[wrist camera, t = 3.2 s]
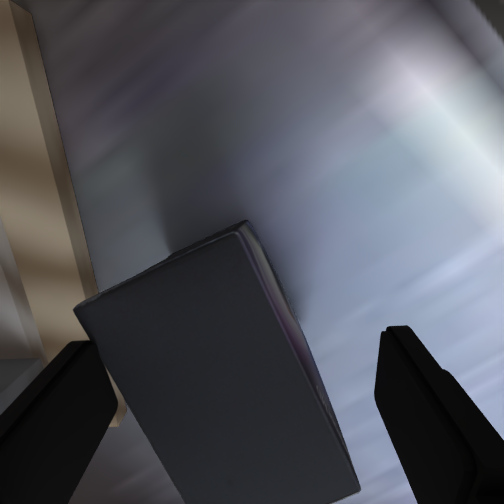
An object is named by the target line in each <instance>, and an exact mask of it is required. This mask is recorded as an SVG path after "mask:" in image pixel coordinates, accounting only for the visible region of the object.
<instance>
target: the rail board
mask: <svg viewBox="0 0 504 504" xmlns="http://www.w3.org/2000/svg"><path fill="white" fill-rule="evenodd" d="M97 294H99V293H98V289H97V285H96V280H95V276H94V272H93V268H92V264H91V260H90V256H89V251H88V247H87V243H86V239H85V235H84V231H83V227H82V222H81V218H80V214H79V210H78V206H77V202H76V198H75V193H74V189H73V185H72V181H71V177H70V173H69V168H68V164H67V160H66V156H65V152H64V148H63V144H62V139H61V135H60V131H59V127H58V123H57V119H56V115H55V110H54V106H53V102H52V98H51V94H50V90H49V86H48V81H47V77H46V73H45V69H44V65H43V61H42V56H41V52H40V48H39V44H38V40H37V36H36V32H35V27H34V23H33V19H32V15H31V14H30V13H29V12H27V11H26V10H24V9H23V8H21V7H20V6H18V5H17V4H15V3H14V2H12V1H11V0H0V415H1V414H2V413H3V412H4V411H5V410H6V409H7V407H8V406H9V405H10V404H11V403H12V402H13V401H14V400H15V399H16V398H17V397H18V396H19V395H20V394H21V393H22V392H23V390H24V389H25V388H26V387H27V386H28V385H29V384H30V383H31V382H32V381H33V380H34V379H35V378H36V377H37V376H38V375H39V373H40V372H41V371H42V370H43V369H44V368H45V367H46V366H47V365H48V364H49V363H50V362H51V361H52V360H53V359H54V358H55V357H56V355H57V354H58V353H59V352H60V351H61V350H62V349H63V348H64V347H65V346H66V345H67V344H68V343H69V342H71V341H79V340H90V339H89V338H88V336H87V334H86V332H85V331H84V329H83V328H82V326H81V324H80V323H79V321H78V319H77V317H76V316H75V314H74V312H73V308H74V307H75V306H76V305H77V304H79V303H81V302H82V301H84V300H86V299H88V298H90V297H93V296H95V295H97ZM105 368H106V367H105ZM106 370H107V369H106ZM107 373H108V376H109V378H110V381H111V384H112V386H113V389H114V391H115V394H116V397H117V399H118V408H117V411H116V414H115V415H114V417H113V419H112V421H111V423H110V425H109V427H119V425H120V423H121V421H122V419H123V417H124V416H125V414H126V412H127V409H126V405H125V401H124V398H123V396H122V394H121V393H120V391H119V389H118V388H117V386H116V384H115V382H114V380H113V379H112V377H111V375H110V374H109V372H108V370H107Z"/></svg>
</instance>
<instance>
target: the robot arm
mask: <svg viewBox="0 0 504 504" xmlns="http://www.w3.org/2000/svg"><path fill="white" fill-rule="evenodd" d="M374 397H375V402H376V405H377V408H378V410H379V412H380V415H381V417H382V419H383V422H384V424H385V427H386V429H387V431H388V434H389V436H390V438H391V441H392V443H393V446H394V448H395V450H396V453H397V455H398V457H399V460H400V462H401V465H402V467H403V469H404V472H405V474H406V476H407V479H408V481H409V484H410V486H411V488H412V491H413V493H414V496H415V498H416V500H417V503H418V504H504V440H503V439H502V438H501V436H500V435H499V434H498V432H497V431H496V430H495V429H494V427H493V426H492V425H491V424H490V422H489V421H488V420H487V419H486V417H485V416H484V415H483V413H482V412H481V411H480V410H479V408H478V407H477V406H476V405H475V403H474V402H473V401H472V400H471V398H470V397H469V396H468V394H467V393H466V392H465V391H464V389H463V388H462V387H461V386H460V384H459V383H458V382H457V381H456V379H455V378H454V377H453V376H452V375H451V374H450V373H449V372H448V371H446V370H445V369H442V368H441V367H440V366H439V364H438V363H437V362H436V360H435V359H434V358H433V357H432V355H431V354H430V353H429V351H428V350H427V349H426V347H425V346H424V345H423V344H422V342H421V341H420V340H419V338H418V337H417V336H416V334H415V333H414V332H413V330H412V329H411V328H410V327H409V326H407V325H406V326H389V327H387V329H386V331H382V332H381V337H380V345H379V354H378V363H377V372H376V381H375V390H374ZM117 408H118V399H117V397H116V394H115V391H114V389H113V386H112V384H111V381H110V378H109V376H108V373H107V370H106V368H105V365H104V363H103V362H102V360H101V358H100V355H99V351H98V347H97V345H95V344H92V342H91V341H90V340H79V341H71V342H69V343H68V344H67V345H66V346H65V347H64V348H63V349H62V350H61V351H60V352H59V353H58V354H57V355H56V357H55V358H54V359H53V360H52V361H51V362H50V363H49V364H48V365H47V366H46V367H45V368H44V369H43V370H42V371H41V372H40V373H39V375H38V376H37V377H36V378H35V379H34V380H33V381H32V382H31V383H30V384H29V385H28V386H27V387H26V388H25V389H24V390H23V392H22V393H21V394H20V395H19V396H18V397H17V398H16V399H15V400H14V401H13V402H12V403H11V404H10V405H9V406H8V407H7V409H6V410H5V411H4V412H3V413H2V414H1V415H0V504H68V502H69V500H70V498H71V496H72V494H73V492H74V491H75V489H76V487H77V485H78V483H79V481H80V479H81V477H82V476H83V474H84V472H85V470H86V468H87V466H88V464H89V462H90V461H91V459H92V457H93V455H94V453H95V451H96V449H97V447H98V446H99V444H100V442H101V440H102V438H103V436H104V434H105V432H106V431H107V429H108V427H109V425H110V423H111V421H112V419H113V417H114V415H115V414H116V411H117Z"/></svg>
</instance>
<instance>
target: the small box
mask: <svg viewBox="0 0 504 504" xmlns="http://www.w3.org/2000/svg"><path fill="white" fill-rule="evenodd" d="M73 312H74V314H75V316H76V317H77V319H78V321H79V323H80V324H81V326H82V328H83V329H84V331H85V332H86V334H87V336H88V338H89V339H90V341H91V342H92V344H95V345H97V347H98V351H99V355H100V358H101V360H102V362H103V363H104V365H105V367H106V369H107V370H108V372H109V374H110V375H111V377H112V379H113V380H114V382H115V384H116V386H117V388H118V389H119V391H120V393H121V394H122V396H123V398H124V399H125V401H126V403H127V405H128V407H129V408H130V410H131V411H132V413H133V415H134V417H135V418H136V420H137V422H138V423H139V425H140V427H141V428H142V430H143V432H144V434H145V435H146V437H147V439H148V441H149V442H150V444H151V446H152V447H153V449H154V451H155V453H156V454H157V456H158V457H159V459H160V461H161V463H162V465H163V466H164V468H165V470H166V471H167V473H168V475H169V476H170V478H171V480H172V482H173V483H174V485H175V487H176V488H177V490H178V492H179V494H180V495H181V497H182V499H183V500H184V502H185V504H332V503H335V502H337V501H340V500H343V499H345V498H347V497H349V496H353V495H355V494H358V493H359V492H360V491H361V487H360V484H359V481H358V478H357V476H356V473H355V470H354V467H353V464H352V461H351V458H350V455H349V452H348V449H347V446H346V444H345V441H344V438H343V435H342V432H341V430H340V427H339V424H338V421H337V419H336V416H335V413H334V411H333V408H332V405H331V403H330V400H329V397H328V394H327V392H326V389H325V386H324V384H323V381H322V379H321V376H320V374H319V371H318V368H317V366H316V363H315V361H314V358H313V355H312V353H311V350H310V348H309V345H308V343H307V341H306V338H305V336H304V334H303V331H302V329H301V327H300V325H299V322H298V320H297V318H296V316H295V313H294V311H293V309H292V307H291V304H290V302H289V300H288V297H287V295H286V293H285V291H284V289H283V287H282V285H281V283H280V281H279V279H278V276H277V274H276V272H275V270H274V268H273V266H272V264H271V262H270V260H269V258H268V256H267V254H266V252H265V250H264V248H263V246H262V244H261V242H260V240H259V238H258V236H257V234H256V232H255V231H254V229H253V227H252V226H251V224H250V222H249V221H248V220H244V221H242V222H240V223H238V224H235V225H233V226H231V227H229V228H226V229H224V230H222V231H220V232H218V233H216V234H214V235H212V236H209V237H207V238H205V239H203V240H201V241H199V242H197V243H195V244H192V245H190V246H188V247H186V248H184V249H182V250H180V251H178V252H175V253H173V254H171V255H170V256H169V257H168V258H166V259H165V260H163V261H161V262H159V263H157V264H156V265H154V266H152V267H150V268H148V269H147V270H145V271H143V272H141V273H139V274H137V275H136V276H134V277H132V278H130V279H127V280H126V281H124V282H122V283H119V284H117V285H115V286H113V287H111V288H109V289H107V290H105V291H103V292H101V293H99V294H97V295H95V296H93V297H90V298H88V299H86V300H84V301H82V302H81V303H79V304H77V305H76V306H75V307H74V308H73Z"/></svg>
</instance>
